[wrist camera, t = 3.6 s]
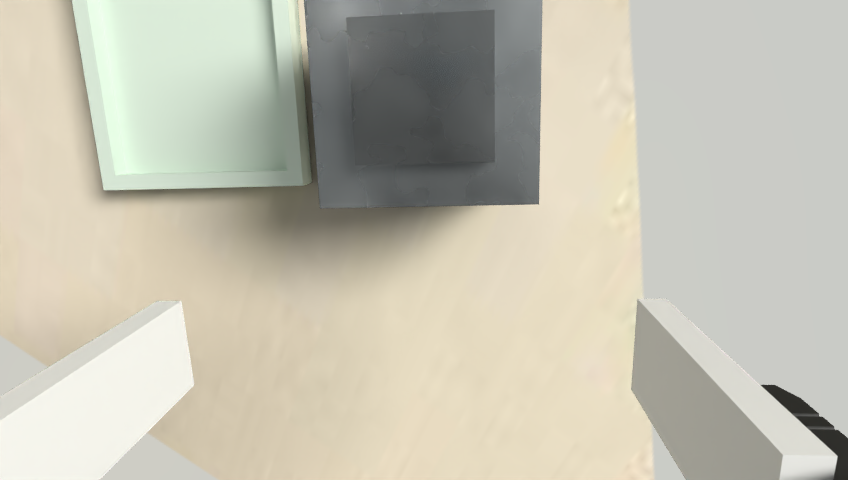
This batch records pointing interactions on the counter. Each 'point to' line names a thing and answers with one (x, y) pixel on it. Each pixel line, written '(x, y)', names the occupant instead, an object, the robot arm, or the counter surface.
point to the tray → (195, 92)
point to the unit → (425, 101)
